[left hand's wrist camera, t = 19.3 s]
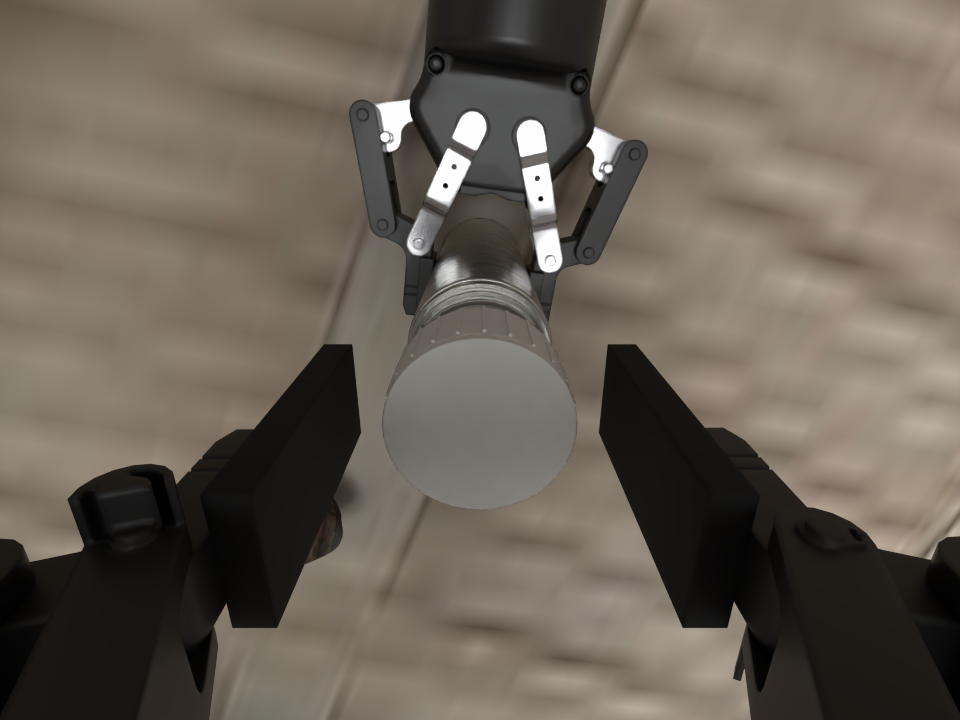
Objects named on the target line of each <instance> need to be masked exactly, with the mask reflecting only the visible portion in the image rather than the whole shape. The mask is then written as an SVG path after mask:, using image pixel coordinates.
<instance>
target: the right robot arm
mask: <svg viewBox="0 0 960 720" xmlns="http://www.w3.org/2000/svg"><path fill="white" fill-rule="evenodd" d="M606 1H607V0H429V7H428V20H427V33H426V46H425V59H424V67H423V72H422V75H421V78H420V80H419V82H418V84H417V86H416V87H415V89H414V90H413V92H412V94H411V97H410V99H409V100H401V101H393V102H386V103H378V104H373V103H370V102H368V101H366V100H358V101H356V102H354V103H353V104H352V106H351V107H350V111H349V116H350V121H351V127H352V132H353V137H354V143H355V148H356V153H357V158H358V164H359V169H360V174H361V179H362V185H363V190H364V195H365V201H366V206H367V211H368V216H369V222H370V227H371V230H372V231H373V233H374V234H375V235H377V236H379V237H383V238H387V239H389V240H391V241H393V242H395V243H397V244H399V245H400V246H401V247H402V248H403V249H404V251H405V253H406V272H405V286H404V298H403V306H404V309H405V312H406V314H407V315H415V313H416V311H417V308H418V306H419V303H420V301H421V299H422V296H423V294H424V291H425V289H426V286H427V284H428V281H429V279H430V277H431V274H432V272H433V269H434V267H435V264H436V261H437V251H434V241H435V239H436V237H437V235H438V233H439V231H440V229H441V226H442V224H443V222H444V220H445V218H446V216H447V214H448V212H449V210H450V208H451V206H452V203H453V201H454V199H455V197H456V195H457V193H458V191H459V193H460V194H467V195H474V196H477V195H484V194H491V193H493V194H496V195H498V196H500V197H502V198H505V199H507V200H511V201H518V202H523V203H524V209H525V214H526V219H527V222H528V227H529V233H530V238H531V244H532V249H533V256H532V262H531V264H527V266H526V270H527V272H528V275H529V277H530V279H531V282H532V284H533V287H534V289H535V292H536V294H537V297H538V299H539V302H540V304H541V307H542V309H543V311H544V314H545V316H546V319H547V321H548V320H549V315H550V309H551V304H552V299H553V293H554V288H555V282H556V278H557V275H558V274H559V272H560V271H561V270H562V269H564V268H566V267H568V266H573V265H577V264H585V265H591V264H593V263H595V262H596V261H597V260H598V259H599V257H600V255H601V253H602V251H603V249H604V247H605V245H606V243H607V241H608V239H609V236H610V234H611V232H612V230H613V228H614V226H615V224H616V222H617V220H618V218H619V215H620V213H621V211H622V209H623V207H624V205H625V203H626V201H627V199H628V197H629V194H630V192H631V190H632V188H633V186H634V184H635V182H636V180H637V178H638V176H639V173H640V171H641V169H642V167H643V165H644V163H645V161H646V159H647V155H648V150H647V147H646V145H645V144H644V143H643V142H642V141H640V140H625V139H623V138H620V137H618V136H616V135H614V134H611V133H609V132H607V131H605V130H602V129H600V128H598V127H596V126H595V122H594V116H593V113H592V110H591V105H590V87H591V82H592V76H593V71H594V65H595V60H596V55H597V49H598V44H599V39H600V33H601V28H602V22H603V17H604V12H605V6H606ZM411 123H414V125H415V126H416V128H417V130H418V132H419V134H420V136H421V138H422V139H423V141H424V143H425V145H426V147H427V149H428V151H429V152H430V154H431V156H432V158H433V160H434V162H435V164H436V165H437V167H438V170H437V173H436V175H435V177H434V179H433V181H432V184H431V186H430V188H429V190H428V192H427V195H426V197H425V199H424V202H423V205H422V207H421V209H420V212H419V214H418V216H417V218H416V220H414V219H412V218H410V217H408V216H406V215H404V214H402V212H401V206H400V200H399V194H398V188H397V182H396V176H395V170H394V164H393V158H392V152H395V151H397V150H399V149H400V148H401V146H402V144H403V135H404V131H405V129H406V127H407V126H408V125H410V124H411ZM584 148H586V149H587V150H588V151H589V153H590V164H589V173H590V176H591V177H592V178H593V179H595V180H596V182H595V184H594V186H593V189H592V191H591V193H590V195H589V198H588V200H587V202H586V204H585V207H584V209H583V211H582V213H581V215H580V218H579V220H578V222H577V224H576V227H575V229H574V231H573V233H572V236H569V237H565V238H560V239H559V234H558V227H557V213H556V207H555V201H554V194H553V188H552V182H553V181H554V180H555V179H556V178H557V177H558V175H559V174H560V173H561V172H562V171H563V170H564V169H565V168H566V167H567V166H568V165H569V164H570V163H571V162H572V161H573V160H574V158H575V157H576V156H577V155H578V154H579V153H580V152H581V151H582V150H583V149H584Z"/></svg>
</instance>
